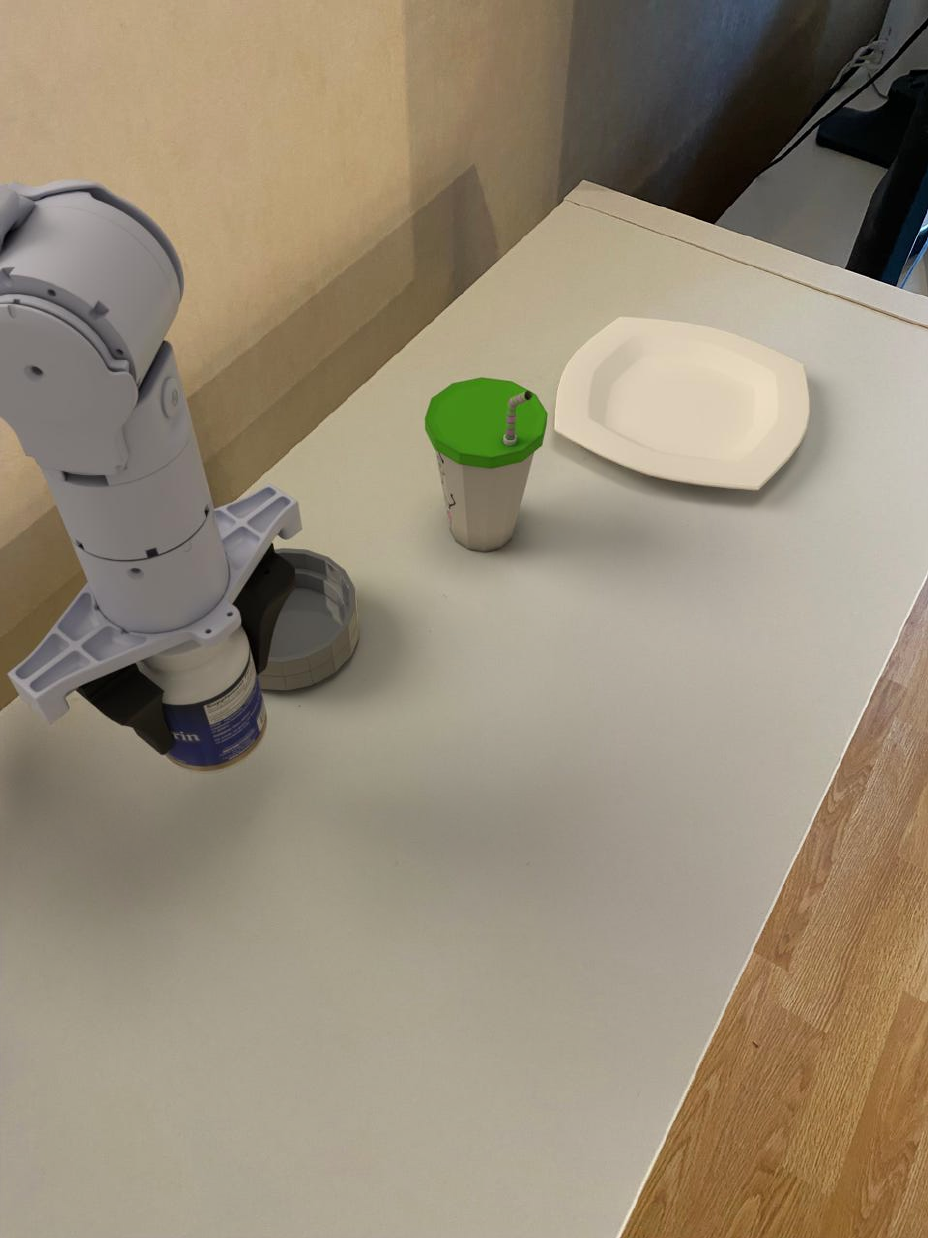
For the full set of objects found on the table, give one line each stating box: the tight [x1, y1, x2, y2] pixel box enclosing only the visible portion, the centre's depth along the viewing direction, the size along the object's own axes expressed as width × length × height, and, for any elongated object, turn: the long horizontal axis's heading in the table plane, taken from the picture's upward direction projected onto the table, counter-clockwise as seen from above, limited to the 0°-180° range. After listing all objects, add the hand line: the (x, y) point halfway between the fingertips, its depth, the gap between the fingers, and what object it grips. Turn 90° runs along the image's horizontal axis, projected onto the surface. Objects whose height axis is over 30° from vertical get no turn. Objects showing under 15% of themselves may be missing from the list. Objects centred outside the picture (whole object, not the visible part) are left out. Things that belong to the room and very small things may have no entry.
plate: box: [553, 316, 811, 491], centre depth 80 cm, size 19×19×2 cm
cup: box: [424, 376, 549, 553], centre depth 67 cm, size 8×8×15 cm
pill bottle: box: [136, 625, 268, 775], centre depth 50 cm, size 6×6×10 cm
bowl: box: [257, 547, 360, 691], centre depth 65 cm, size 9×9×4 cm
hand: (202, 700), depth 51 cm, fingers closed on pill bottle, 5 cm apart
